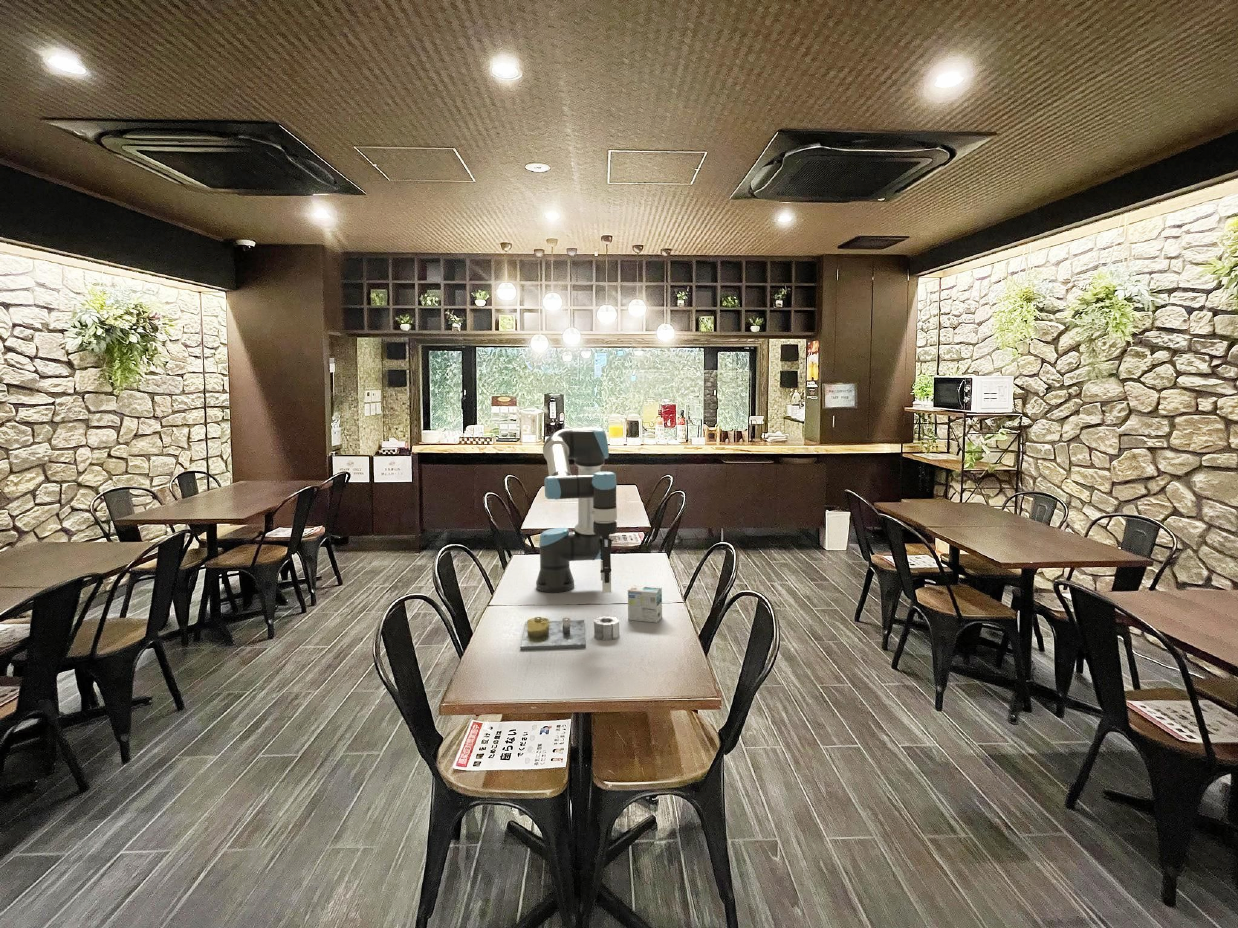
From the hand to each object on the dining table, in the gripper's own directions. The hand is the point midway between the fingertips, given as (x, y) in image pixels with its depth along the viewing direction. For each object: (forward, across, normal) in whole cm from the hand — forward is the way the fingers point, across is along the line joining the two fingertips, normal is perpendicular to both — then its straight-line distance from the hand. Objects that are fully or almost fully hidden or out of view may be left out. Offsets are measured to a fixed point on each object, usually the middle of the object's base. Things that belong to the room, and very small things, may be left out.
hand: (605, 586), depth 225 cm
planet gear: (+16, 0, 0) cm, 16 cm away
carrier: (+16, -1, -17) cm, 24 cm away
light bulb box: (+17, -15, +14) cm, 27 cm away
